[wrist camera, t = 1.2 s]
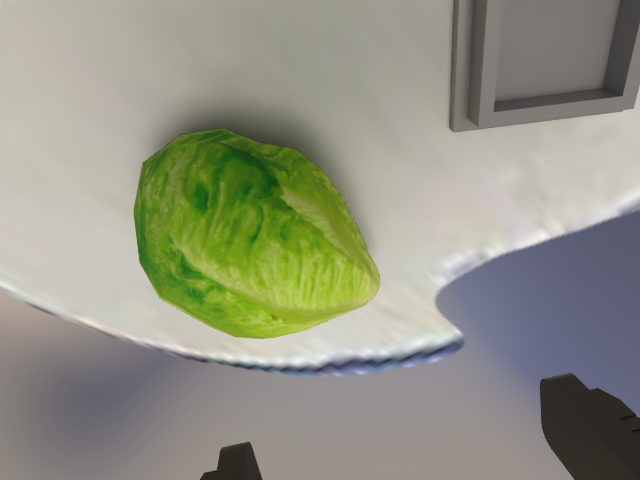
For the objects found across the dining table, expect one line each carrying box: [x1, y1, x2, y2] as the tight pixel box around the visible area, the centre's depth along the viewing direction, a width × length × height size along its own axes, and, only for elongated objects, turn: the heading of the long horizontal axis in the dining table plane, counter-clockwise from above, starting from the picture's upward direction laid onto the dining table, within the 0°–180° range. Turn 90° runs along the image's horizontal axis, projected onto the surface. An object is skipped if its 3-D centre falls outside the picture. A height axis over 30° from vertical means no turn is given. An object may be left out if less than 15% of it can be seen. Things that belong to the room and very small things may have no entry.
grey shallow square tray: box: [450, 0, 640, 132], centre depth 31 cm, size 12×13×4 cm
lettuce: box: [134, 128, 380, 339], centre depth 33 cm, size 15×20×14 cm
